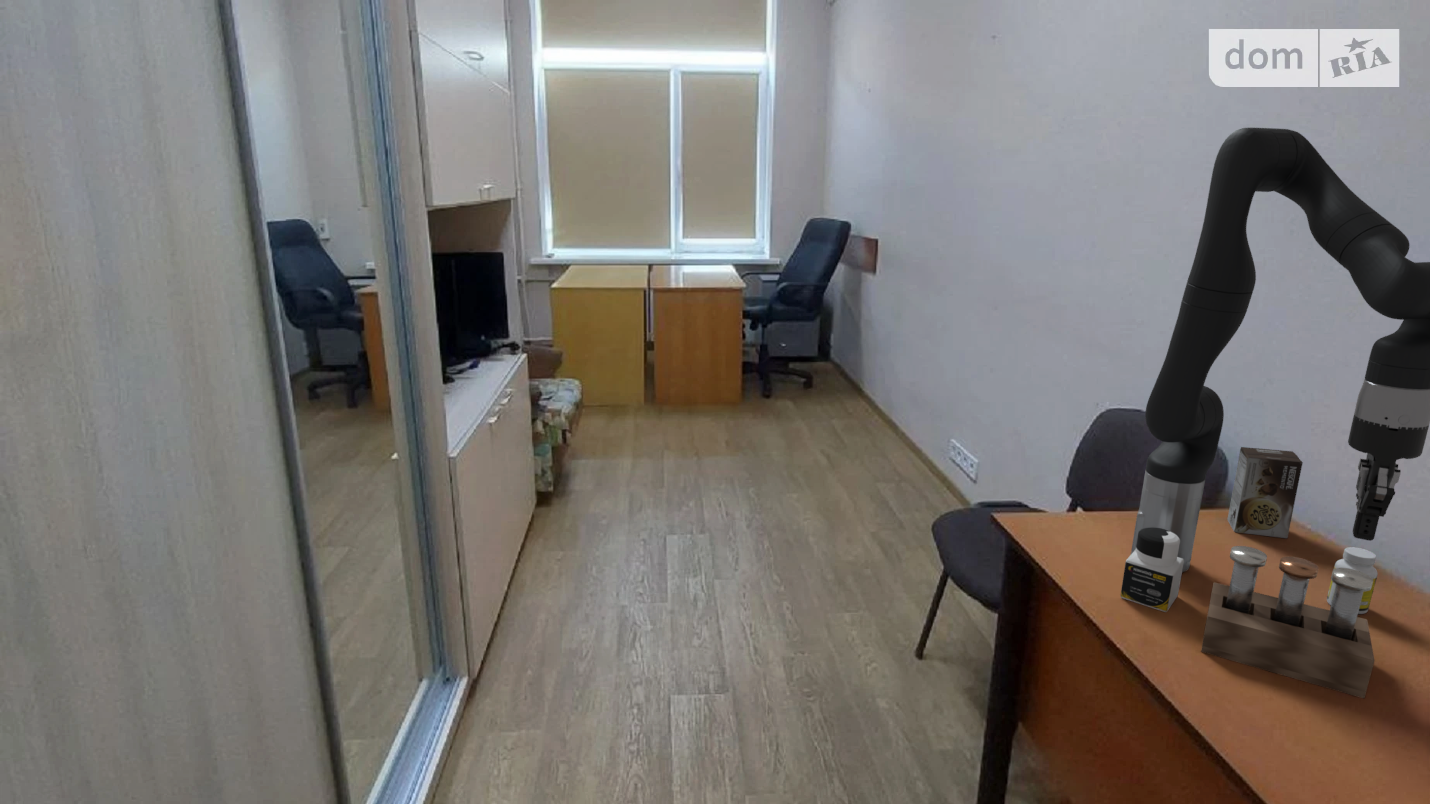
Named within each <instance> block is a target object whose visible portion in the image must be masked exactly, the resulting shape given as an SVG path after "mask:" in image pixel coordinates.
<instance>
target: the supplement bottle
mask: <svg viewBox="0 0 1430 804" xmlns="http://www.w3.org/2000/svg"><path fill="white" fill-rule="evenodd" d="M1376 560H1377V555H1376V554H1375V553H1374V552H1373V551H1370V550H1367V549H1366V548H1365V549H1364V548H1361V547H1353V546H1351V547H1350V546H1348V547H1345V548H1344V550H1343V554H1342V558H1341V559H1338V560H1337V561H1335V563H1334V567H1333V569H1335V568H1348V569H1353V570H1357V571H1360V572H1363V573H1365V574H1367V575H1369V576H1370V577H1371V578H1372V579H1373V584H1372V588H1371V590H1369V591H1364V592H1363V595H1362V599H1361V603H1360V607H1359V611H1358V615H1363V614H1366V613H1367V612H1368V611H1369V608H1370V605H1371V601H1372V598H1373V597H1372V596H1373V594H1374V590H1375V586H1376V582H1377V579H1378V575H1379V574H1378V571H1377V569H1376V568H1375V567H1374V565H1375V564H1376ZM1335 587H1336V584H1335V583H1334V582H1333V581H1332V580H1331V579H1330V584H1329V588H1328V593H1327V596H1326V601H1327V603H1328V605H1330V606H1331V603H1332V599H1333V595H1334V591H1335Z"/></svg>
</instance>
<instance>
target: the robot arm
mask: <svg viewBox="0 0 1430 804" xmlns="http://www.w3.org/2000/svg"><path fill="white" fill-rule="evenodd" d="M1211 172H1212V173H1211V174H1212V175H1211V178H1210V179H1211V180H1210V185H1209V191H1208V195H1207V201H1206V209H1205V214H1204V218H1203V222H1202V228H1201V232H1200V236H1199V240H1198V243H1197V247H1196V252H1195V255H1194V258H1193V263H1192V265H1191V268H1190V273H1189V275H1188V277H1187V280H1186V281H1187V282H1186V284H1185V288H1184V292H1183V295H1182V298H1181V302H1180V306H1179V311H1178V316H1177V319H1176V322H1175V325H1174V329H1173V331H1172V334H1171V337H1170V338H1171V339H1170V341H1169V345H1168V349H1167V352H1166V355H1165V358H1164V360H1163V364H1162V366H1161V369H1160V370H1159V373H1158V375H1157V378H1156V381H1155V382H1154V386H1153V388H1152V390H1151V392H1150V395H1149V397H1148V401H1147V403H1146V407H1145V417H1144V418H1145V424H1146V426H1147V429H1148V430H1149V433H1150V434H1151V435H1152V436H1153V437H1154V438H1156V439H1157V440H1159V441H1160V444H1159V445H1158V446H1157V447H1156V448H1155V449H1154V450H1153V451H1152V452H1150V454H1149V455H1148V457H1147V459H1146V466H1145V471H1144V472H1145V473H1144V478H1143V483H1142V484H1143V485H1142V490H1141V496H1140V503H1139V509H1138V511H1137V513H1136V518H1135V519H1136V520H1135V526H1134V532H1133V539H1132V545H1131V552H1130V555H1131V554H1132V553H1133V552H1134V551H1135V549H1136V544H1137V538H1138V532H1139V531H1140V530H1141V529H1143V528H1150V527H1155V528H1162V529H1165V530H1168V531H1170V532H1172V533H1174V534H1176V535H1177V536H1178V537H1179V539H1180V544H1179V550H1178V556H1177V557H1179V558H1183V559H1184V564H1183V569H1182V573H1185V572H1187V571H1188V570H1189V568H1190V565H1191V560H1192V554H1193V548H1194V544H1195V537H1196V533H1197V526H1198V523H1199V515H1200V511H1201V505H1202V500H1203V493H1204V487H1205V483H1206V478H1207V473H1208V470H1209V469H1210V468H1211V466H1212V464H1213V463H1214V461H1215V458H1216V456H1217V455H1216V454H1217V452H1218V446H1219V441H1220V438H1221V433H1222V429H1223V424H1224V415H1225V414H1224V405H1223V402H1222V400H1221V398H1220V396H1219V395H1218V393H1217V392H1216V391H1214V390H1213V389H1211V387H1208V386H1207V385H1205V382H1206V379H1207V377H1208V375H1209V372H1210V369H1211V367H1212V366H1213V365H1214V362H1215V361H1216V360H1217V359H1218V357H1219V356H1220V355H1221V353H1222V352H1223V350H1224V349H1225V348H1226V347H1227V345H1228V344H1229V343H1230V341H1232V340H1231V339H1233V337H1234V335H1236V333H1237V332H1238V330H1239V328H1240V327H1241V325H1242V323H1243V321H1244V318H1245V316H1246V314H1247V311H1248V309H1249V307H1250V306H1249V304H1250V302H1251V299H1252V296H1253V294H1254V293H1253V292H1254V289H1255V286H1256V281H1257V274H1256V273H1257V272H1256V265H1255V263H1254V258H1253V255H1252V251H1251V247H1250V245H1249V240H1248V233H1247V224H1248V217H1249V213H1250V209H1251V206H1252V201H1253V199H1254V196H1255V193H1257V192H1262V193H1270V192H1276V193H1278V194H1279V195H1282V196H1284V197H1285V198H1288V199H1289V200H1291V201H1292V202H1294V203H1295V204H1297V206H1299V207H1300V208H1301V209H1302V210H1303V212H1304V214H1305V216H1306V219H1307V223H1308V224H1307V225H1308V227H1309V231H1310V233H1311V235H1312V237H1313V238H1314V240H1315V242H1316V243H1317V244H1318V245H1319V246H1320V247H1321V248H1322V249H1323V250H1324V251H1325V252H1326V253H1327V254H1328V255H1330V257H1332V258H1333V259H1334V260H1335V261H1336V262H1337V263H1338V264H1339V265H1340V266H1342V267H1343V268H1344V269H1345V270H1346V271H1348V272H1349V274H1350V277H1351V280H1353V283H1354V284H1355V286H1356V288H1357V289H1358V291H1359V293H1360V294H1361V296H1362V298H1363V300H1364V301H1365V302H1366V303H1367V305H1368V306H1369V307H1370V308H1372V309H1373V310H1374V311H1375V312H1377V313H1378V314H1379V315H1382V316H1384V317H1385V318H1386V317H1387V318H1390V319H1391V320H1399V321H1400V320H1403V321H1402V322H1401V324H1400V325H1399V327H1398V329H1397V330H1396V331H1395V332H1393V333H1390V334H1388V335H1385V336H1382V337H1380V338H1378V339H1376V341H1374V342H1373V345H1372V348H1371V350H1370V354H1369V357H1368V363H1367V367H1366V369H1365V376H1364V379H1363V382H1362V385H1361V388H1360V391H1359V392H1358V396H1357V399H1356V403H1355V409H1354V412H1353V418H1352V421H1351V425H1350V426H1351V427H1350V430H1349V435H1348V440H1347V443H1348V445H1349V447H1351V448H1352V449H1353V450H1355V451H1357V452H1361V453H1364V454H1366V458H1359V460H1358V465H1357V470H1358V476H1357V481H1356V486H1355V489H1356V491H1357V492H1356V495H1355V497H1356V500H1357V501H1356V502H1355V503H1356V504H1355V506H1356V514H1355V519H1354V524H1353V527H1352V535H1353V537H1354V538H1355V539H1359V540H1365V541H1370V542H1371V541H1373V540H1374V539H1375V537H1376V532H1377V528H1378V525H1379V520H1380V517H1383V518H1384V516H1385V515H1386V513H1387V510H1388V508H1389V507H1390V504H1391V502H1392V500H1393V498H1394V496H1395V495H1396V491H1395V486H1396V484H1398V483H1399V480H1400V477H1401V469H1399V463H1396V462H1397V460H1401V459H1403V460H1404V459H1405V460H1411V459H1412V460H1413V459H1417V458H1419V457H1421V456H1422V454H1423V450H1424V447H1425V443H1426V440H1427V439H1426V438H1427V435H1428V433H1429V431H1428V430H1429V427H1430V261H1423V262H1421V261H1419V262H1418V261H1417V262H1416V261H1412V260H1411V259H1409V258H1407V257H1406V256H1407V254H1408V253H1409V251H1410V247H1411V246H1410V245H1411V244H1410V240H1409V238H1408V237H1407V236H1406V234H1405V233H1403V231H1402V230H1401V229H1399V228H1398V227H1396V225H1394V224H1392V222H1391V221H1389V220H1388V219H1386V218H1385V217H1383V216H1382V215H1381V214H1380V213H1379V212H1377V210H1375V209H1373V208H1372V207H1371V206H1369V205H1368V204H1367V203H1366V202H1365V201H1364V200H1362V199H1361V198H1360V197H1359V196H1358V195H1357V194H1356V193H1354V192H1353V191H1352V190H1351V189H1350V187H1349V186H1348V185H1346V184H1345V182H1344V181H1343V180H1342V179H1341V178H1340V177H1339V175H1338V174H1337V173H1336V172H1335V171H1334V170H1333V168H1332V167H1331V166H1330V165H1329V164H1328V163H1327V161H1326V160H1325V159H1324V158H1323V157H1322V155H1321V153H1319V152H1318V150H1317V149H1316V148H1315V147H1314V145H1313V144H1311V142H1310V141H1309V139H1307V138H1306V137H1305V136H1304V135H1303V134H1301V133H1300V132H1298V131H1295V130H1294V129H1293V130H1292V129H1289V128H1273V127H1271V128H1270V127H1243V128H1242V127H1241V128H1239V129H1237V130H1235V131H1233V132H1232V133H1230V134H1228V136H1227V137H1226V138H1225V140H1223V143H1222V144H1221V146H1220V147H1219V149H1218V151H1217V154H1216V157H1215V161H1214V164H1213V169H1212V171H1211Z"/></svg>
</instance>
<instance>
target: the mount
mask: <svg viewBox="0 0 1430 804" xmlns="http://www.w3.org/2000/svg"><path fill="white" fill-rule="evenodd" d="M1229 587H1230V585H1227V584H1222V583H1217V582H1216V581H1215V582H1213V585H1212V590H1211V594H1210V599H1209V600H1210V601H1209V605H1208V609H1207V614H1206V615H1207V616H1206V621H1205V627H1204V632H1203V633H1204V634H1203V636H1202V637H1203V638H1202V644H1201V649H1200V652H1202V653H1205V654H1208V655H1212V656H1215V657H1219V658H1222V659H1226V660H1229V661H1232V662H1236V663H1239V664H1242V665H1247V666H1249V667H1254V668H1256V669H1260V670H1264V671H1267V672H1271V673H1275V674H1278V675H1281V676H1284V677H1289V678H1292V679H1295V680H1298V681H1303V682H1306V683H1309V684H1313V685H1317V686H1319V687H1323V688H1326V689H1329V690H1332V691H1337V692H1340V693H1344V694H1348V695H1350V696H1354V697H1358V698H1361V699H1365V697H1366V693H1367V690H1368V686H1369V682H1370V679H1371V676H1372V675H1371V674H1372V671H1373V667H1374V664H1375V655H1374V651H1373V650H1374V649H1373V645H1372V639H1371V638H1372V637H1371V635H1370V634H1371V633H1370V628H1369V623H1368V619H1366V618H1363V617H1358V616H1357V619H1356V623H1355V627H1354V631H1353V635H1352V638H1351V640H1347V639H1343V638H1339V637H1335V636H1331V635H1327V634H1324V632H1325V628H1326V624H1327V620H1328V616H1329V612H1330V609H1325V608H1321V607H1319V606H1318V607H1317V606H1314V605H1309V604H1305V603H1304V605H1303V609H1302V614H1301V618H1300V622H1299V627H1296V626H1292V625H1289V624H1285V623H1281V622H1277V621H1273V619H1274V615H1275V610H1276V606H1277V601H1278V596H1277V597H1276V596H1273V595H1268V594H1263V593H1260V592H1255V591H1254V592H1253V597H1252V602H1251V607H1250V611H1249V614H1246V613H1242V612H1238V611H1234V610H1230V609H1226V608H1225V607H1226V602H1227V597H1228V592H1229Z"/></svg>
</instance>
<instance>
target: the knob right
mask: <svg viewBox="0 0 1430 804" xmlns="http://www.w3.org/2000/svg"><path fill="white" fill-rule="evenodd" d="M1331 580H1332V581H1333V582H1334V583H1335V584H1336V587H1335V591H1334V595H1333V599H1332V603H1331V605H1330V608H1329V610H1330V612H1329V616H1328V620H1327V624H1326V628H1325V632H1324V634H1327V635H1331V636H1335V637H1339V638H1343V639H1347V640H1351V638H1352V635H1353V631H1354V627H1355V623H1356V619H1357V617H1358V615H1359V614H1358V611H1359V607H1360V603H1361V599H1362V595H1363V592H1364V591H1369V590H1371V588H1372V584H1373V579H1372V578H1371V577H1370V576H1369V575H1367V574H1365V573H1363V572H1360V571H1357V570H1353V569H1348V568H1335V569H1334V568H1333V569H1332V572H1331V577H1330V581H1331Z"/></svg>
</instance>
